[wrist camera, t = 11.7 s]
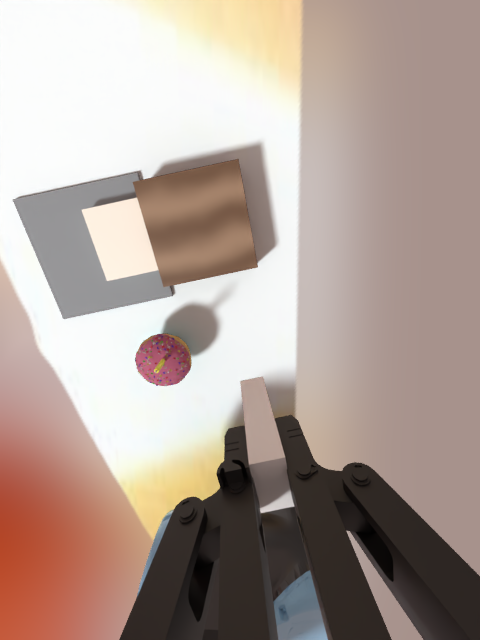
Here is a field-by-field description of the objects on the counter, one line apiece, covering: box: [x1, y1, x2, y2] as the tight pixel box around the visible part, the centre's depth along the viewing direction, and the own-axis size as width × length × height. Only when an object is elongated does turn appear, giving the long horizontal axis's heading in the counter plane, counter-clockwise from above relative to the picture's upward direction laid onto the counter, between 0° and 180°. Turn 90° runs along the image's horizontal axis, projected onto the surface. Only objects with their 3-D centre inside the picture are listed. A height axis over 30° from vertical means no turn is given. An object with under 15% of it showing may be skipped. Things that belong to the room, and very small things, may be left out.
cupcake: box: [135, 334, 191, 386], centre depth 38 cm, size 9×8×12 cm
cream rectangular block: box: [82, 198, 158, 281], centre depth 37 cm, size 10×8×2 cm
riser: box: [133, 159, 258, 287], centre depth 36 cm, size 14×14×4 cm
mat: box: [13, 173, 173, 319], centre depth 38 cm, size 18×18×1 cm
